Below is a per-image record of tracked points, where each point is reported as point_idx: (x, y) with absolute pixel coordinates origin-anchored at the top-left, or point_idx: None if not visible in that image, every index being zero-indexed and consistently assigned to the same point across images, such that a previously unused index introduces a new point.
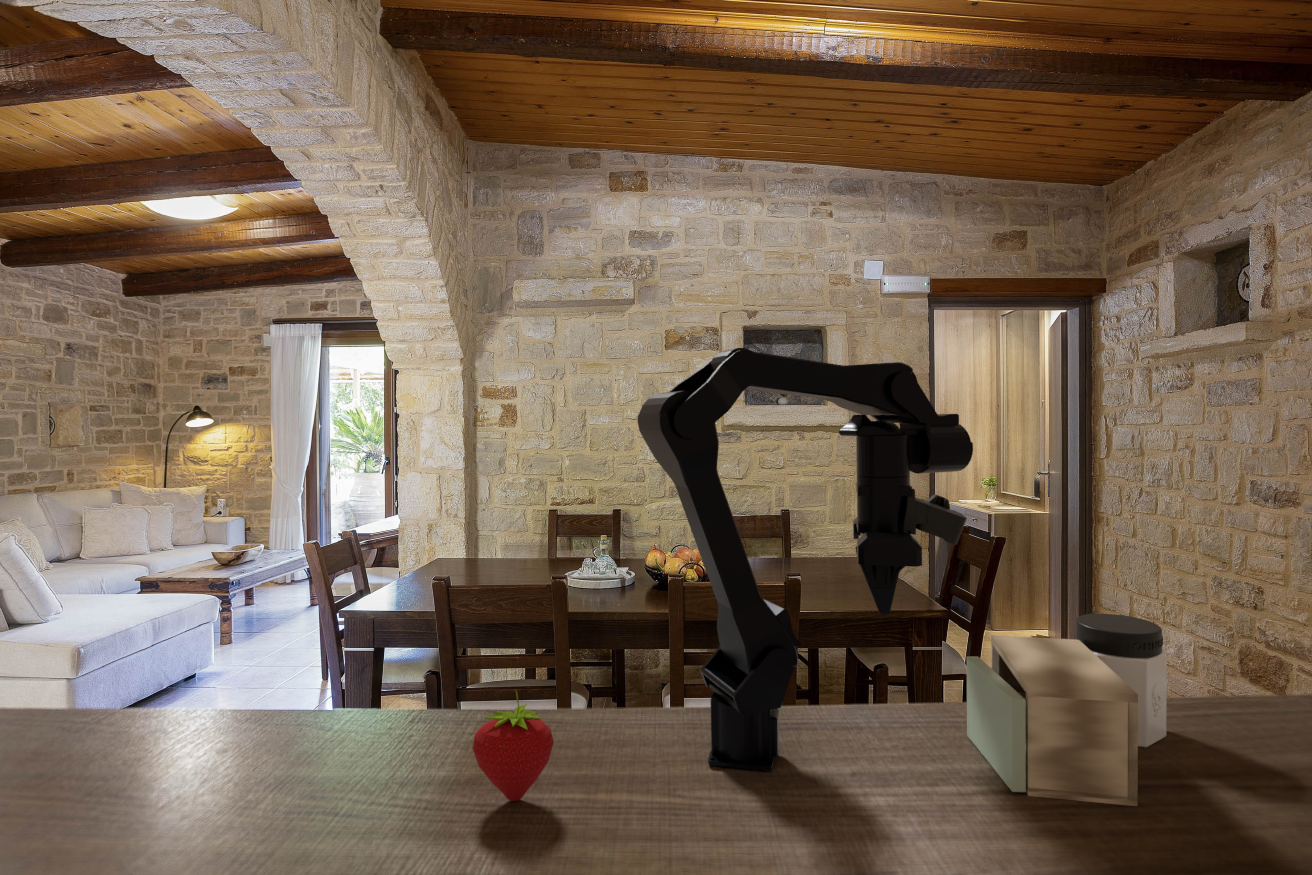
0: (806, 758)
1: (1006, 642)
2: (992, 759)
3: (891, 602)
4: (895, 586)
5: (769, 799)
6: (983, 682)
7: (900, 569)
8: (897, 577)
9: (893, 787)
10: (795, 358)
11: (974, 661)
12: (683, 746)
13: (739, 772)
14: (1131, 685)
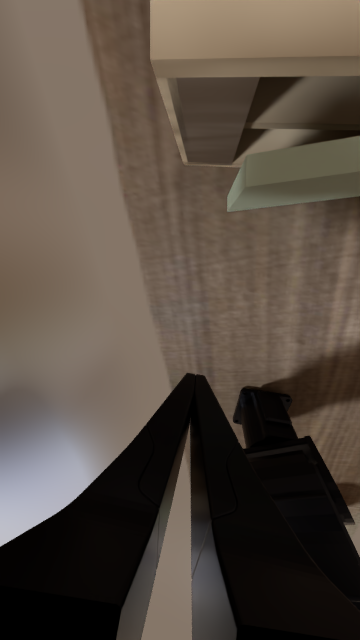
0: (267, 370)
1: (224, 7)
2: (321, 199)
3: (215, 397)
4: (241, 448)
5: (332, 399)
6: (348, 178)
7: (331, 587)
8: (274, 503)
9: (332, 314)
10: None
11: (284, 175)
12: (243, 435)
13: (287, 411)
14: None
